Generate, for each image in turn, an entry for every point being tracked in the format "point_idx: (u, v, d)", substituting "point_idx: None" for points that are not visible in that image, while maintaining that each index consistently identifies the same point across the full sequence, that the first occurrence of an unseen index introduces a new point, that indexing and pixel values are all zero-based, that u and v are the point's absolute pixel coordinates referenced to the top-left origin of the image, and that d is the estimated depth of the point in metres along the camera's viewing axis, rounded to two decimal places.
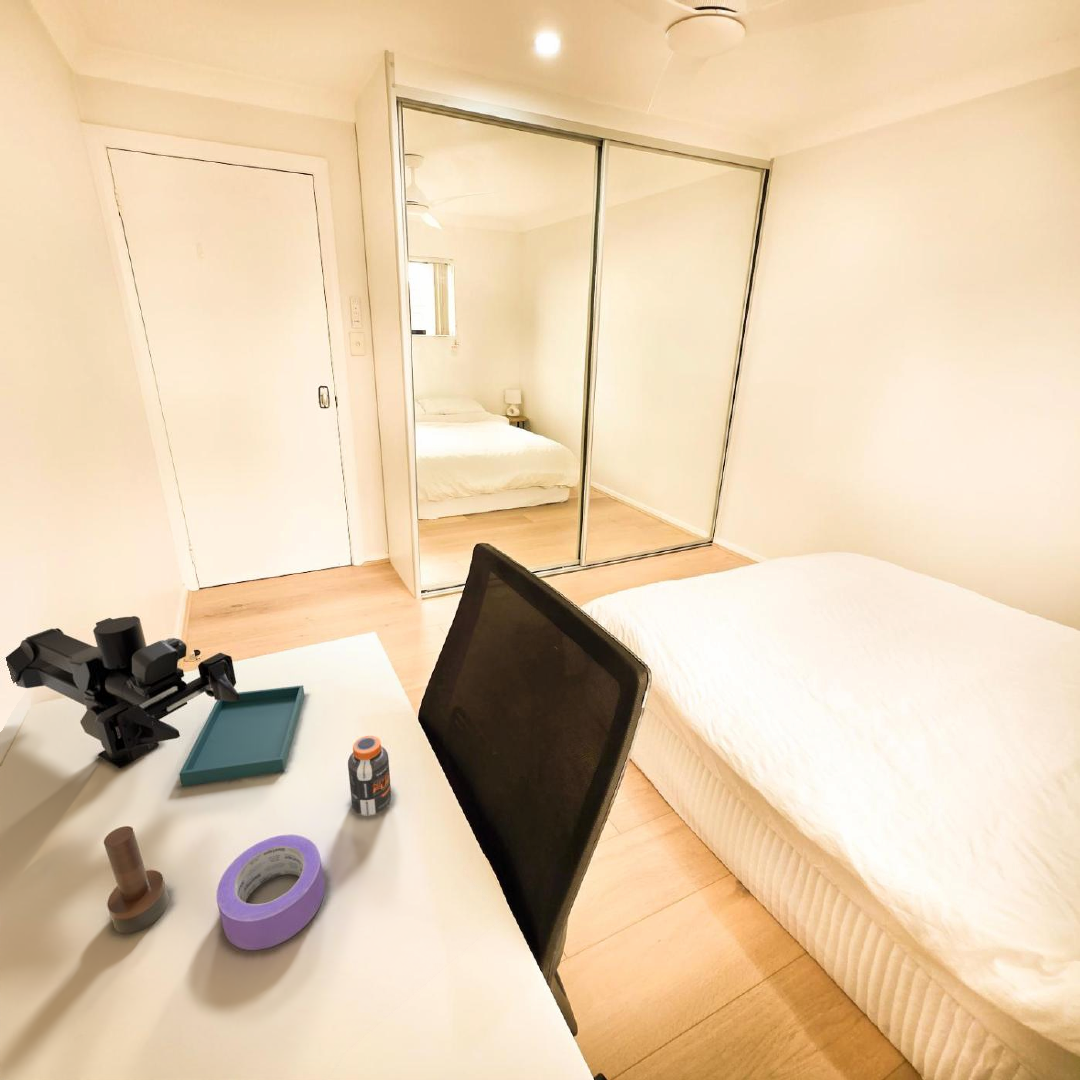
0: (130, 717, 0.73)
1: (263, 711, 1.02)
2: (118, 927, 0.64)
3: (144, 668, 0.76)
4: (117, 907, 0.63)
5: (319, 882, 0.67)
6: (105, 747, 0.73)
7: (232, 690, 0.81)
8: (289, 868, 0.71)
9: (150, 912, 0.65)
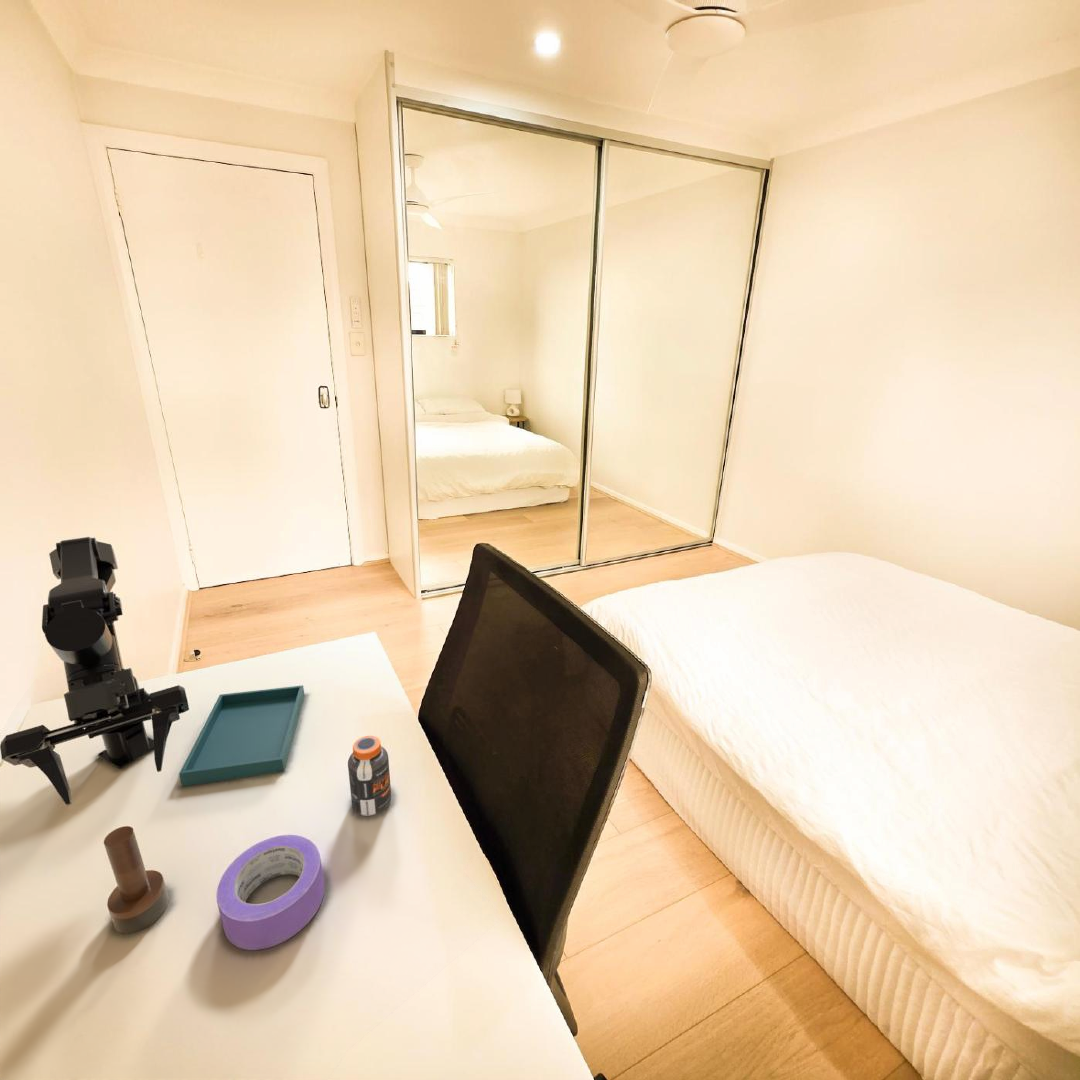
0: (33, 761, 0.64)
1: (263, 711, 1.02)
2: (118, 927, 0.64)
3: (69, 716, 0.64)
4: (117, 907, 0.63)
5: (319, 882, 0.67)
6: None
7: (157, 759, 0.70)
8: (289, 868, 0.71)
9: (150, 912, 0.65)
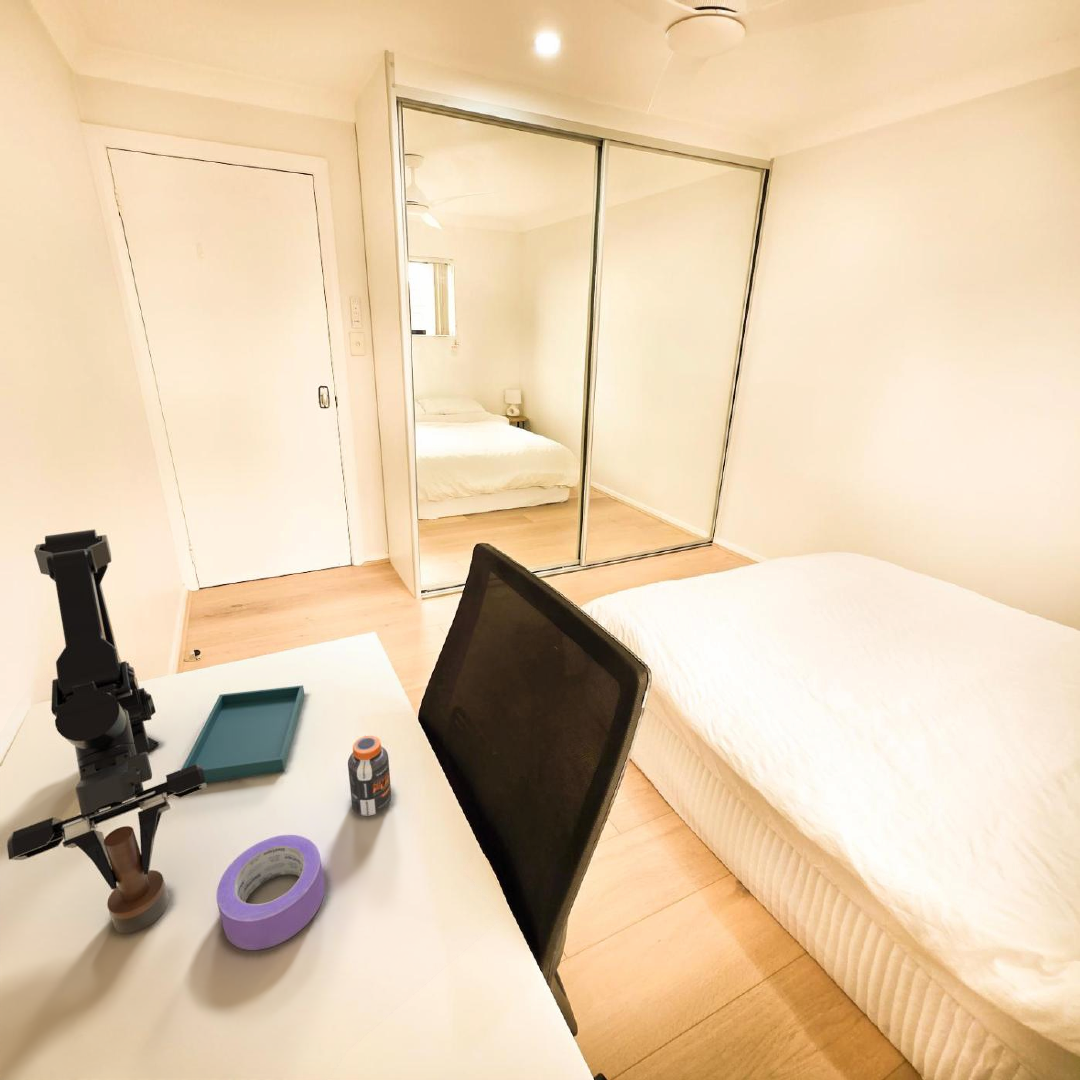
0: (77, 845, 0.61)
1: (263, 711, 1.02)
2: (118, 927, 0.64)
3: (81, 811, 0.59)
4: (117, 907, 0.63)
5: (319, 882, 0.67)
6: None
7: (145, 861, 0.64)
8: (289, 868, 0.71)
9: (150, 912, 0.65)
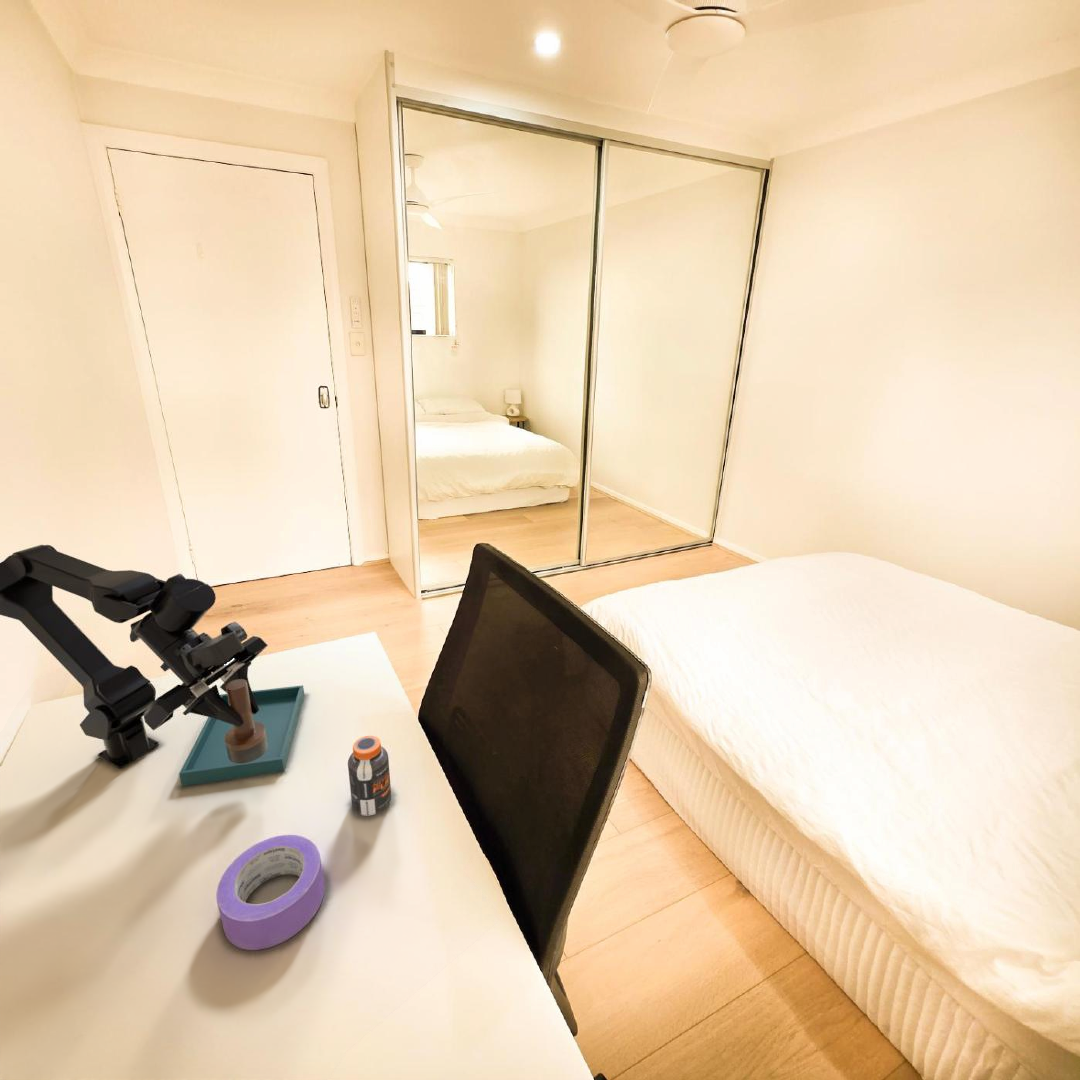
0: (208, 697, 0.77)
1: (263, 711, 1.02)
2: (245, 758, 0.81)
3: (216, 663, 0.76)
4: (242, 742, 0.81)
5: (319, 882, 0.67)
6: (147, 721, 0.73)
7: (254, 703, 0.83)
8: (289, 868, 0.71)
9: (265, 740, 0.84)
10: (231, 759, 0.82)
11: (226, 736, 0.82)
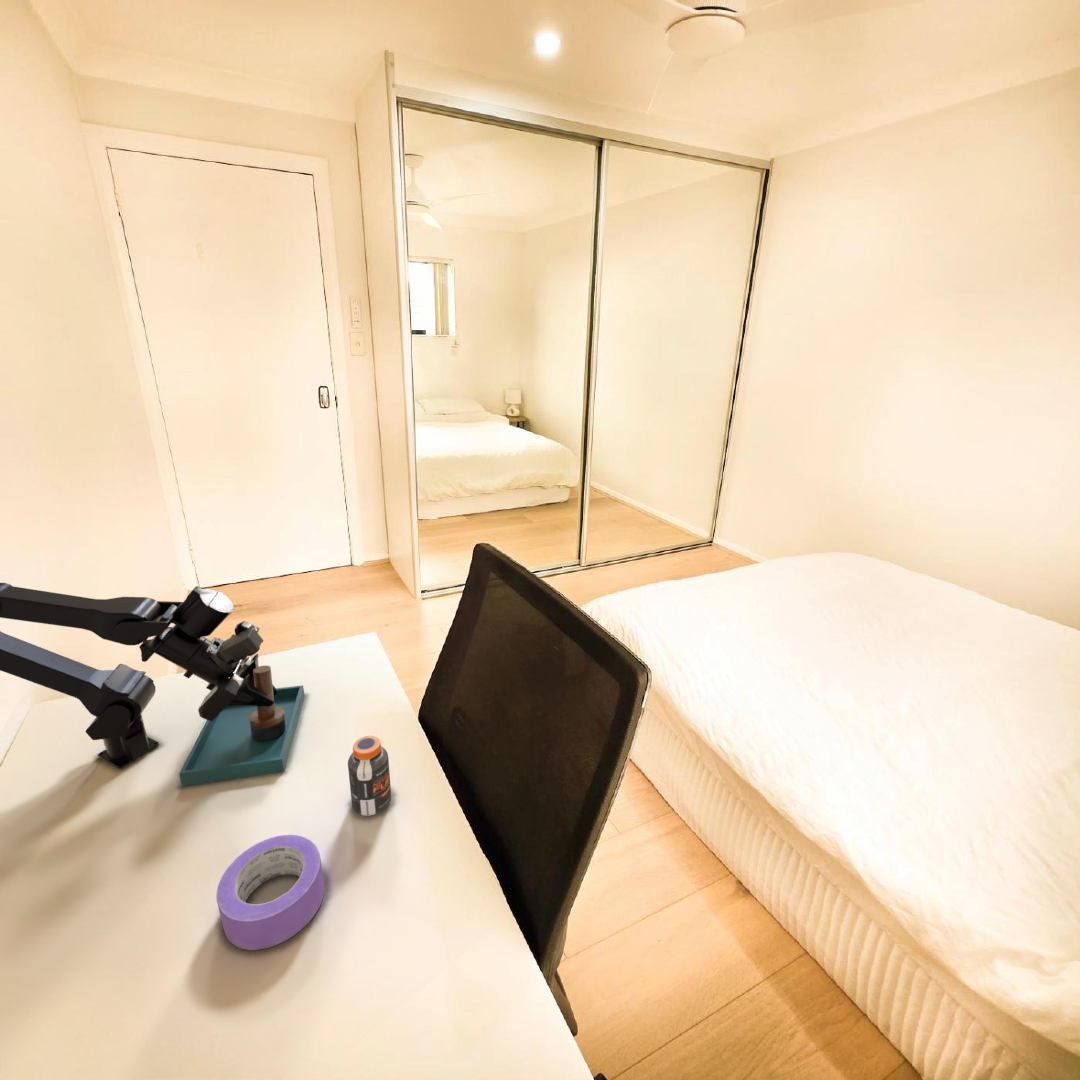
0: (247, 685, 0.90)
1: None
2: (273, 733, 0.95)
3: (251, 653, 0.89)
4: (270, 719, 0.94)
5: (319, 882, 0.67)
6: (205, 715, 0.84)
7: None
8: (289, 868, 0.71)
9: (284, 718, 0.98)
10: (259, 738, 0.94)
11: (251, 719, 0.94)
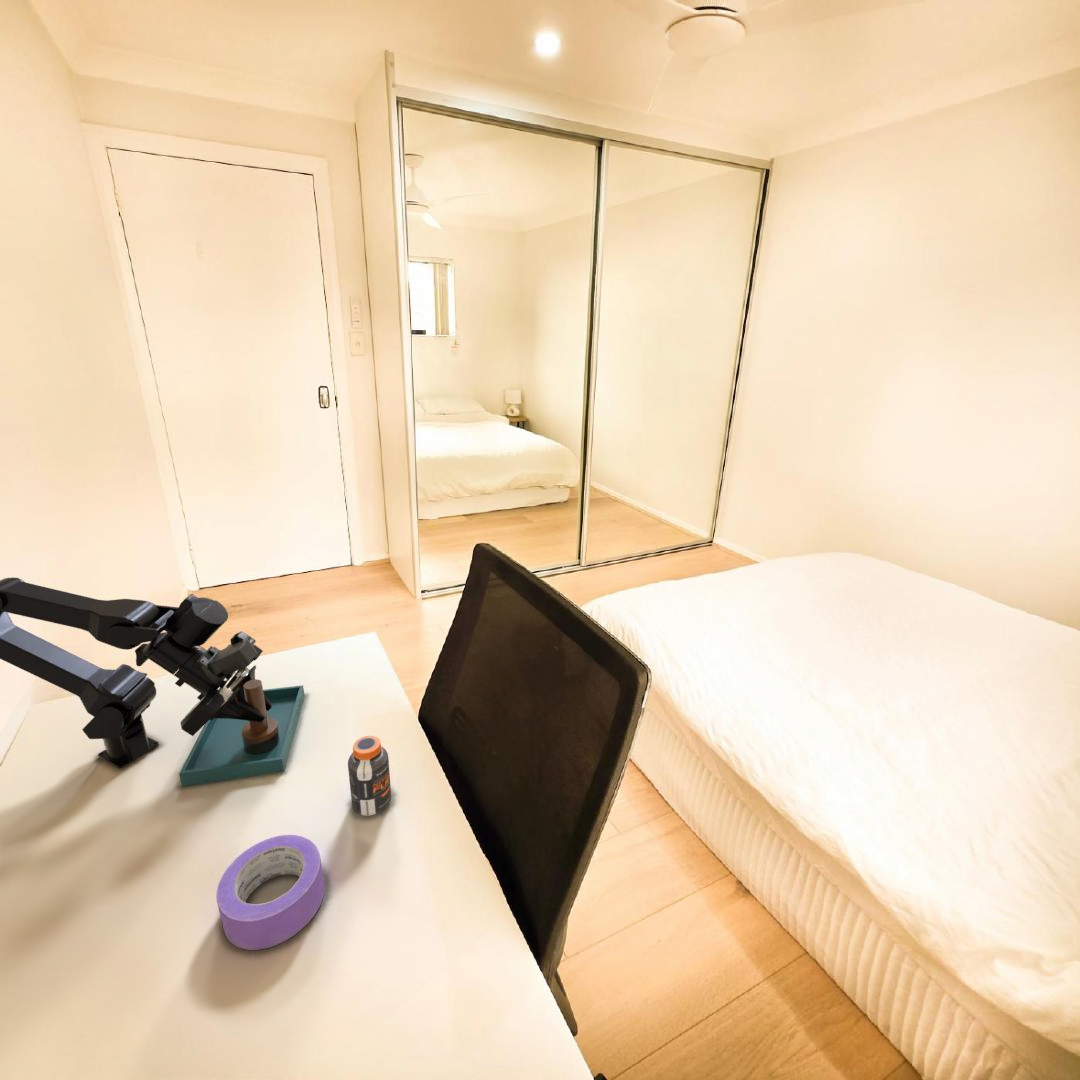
0: (235, 699, 0.86)
1: None
2: (263, 748, 0.92)
3: (241, 667, 0.86)
4: (260, 735, 0.91)
5: (319, 882, 0.67)
6: (187, 728, 0.81)
7: (267, 700, 0.93)
8: (289, 868, 0.71)
9: (278, 732, 0.94)
10: (250, 751, 0.91)
11: (243, 732, 0.92)
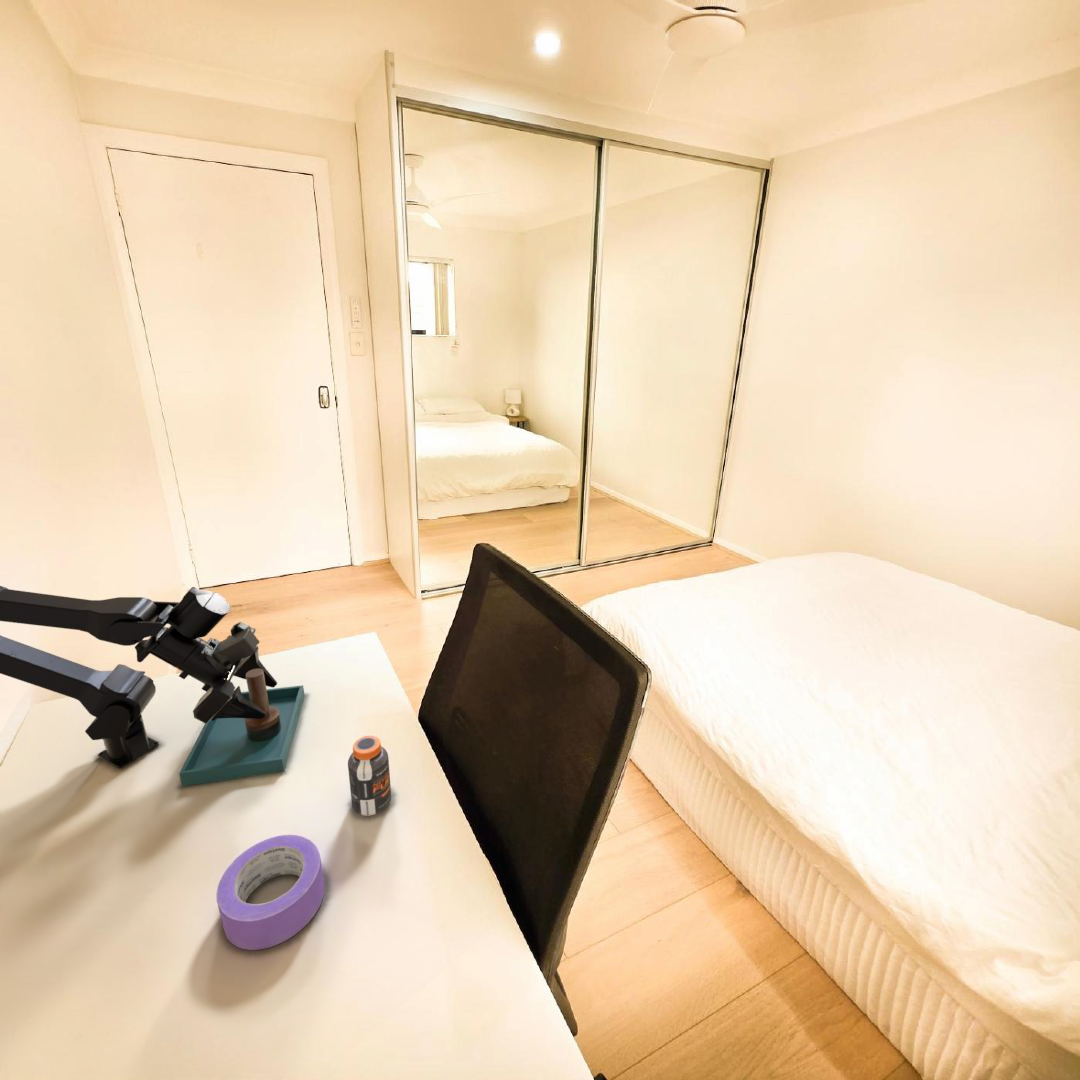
0: (237, 697, 0.87)
1: None
2: (268, 734, 0.95)
3: (247, 655, 0.89)
4: (265, 721, 0.94)
5: (319, 882, 0.67)
6: (200, 716, 0.83)
7: (272, 678, 0.99)
8: (289, 868, 0.71)
9: None
10: (255, 739, 0.94)
11: (246, 721, 0.94)
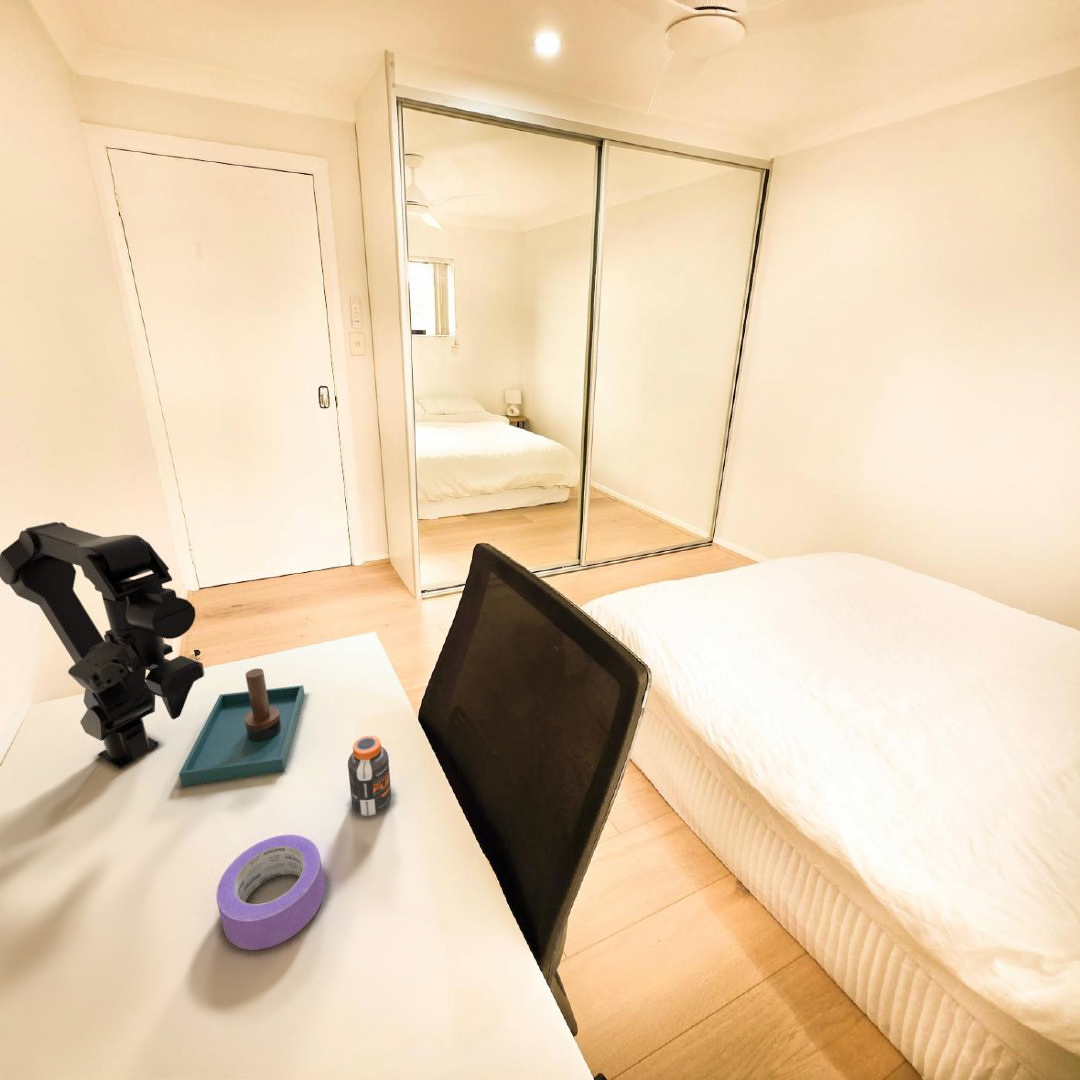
0: None
1: None
2: (268, 734, 0.95)
3: None
4: (265, 721, 0.94)
5: (319, 882, 0.67)
6: None
7: (169, 713, 0.80)
8: (289, 868, 0.71)
9: None
10: (255, 739, 0.94)
11: (246, 721, 0.94)
